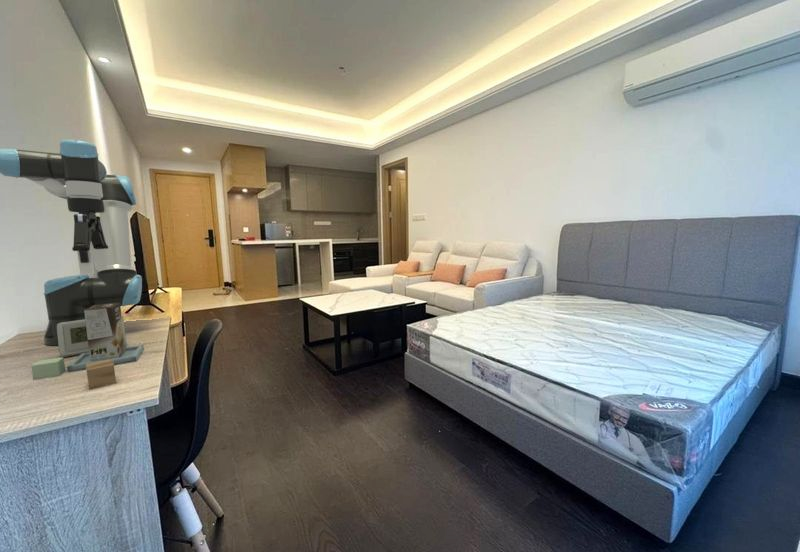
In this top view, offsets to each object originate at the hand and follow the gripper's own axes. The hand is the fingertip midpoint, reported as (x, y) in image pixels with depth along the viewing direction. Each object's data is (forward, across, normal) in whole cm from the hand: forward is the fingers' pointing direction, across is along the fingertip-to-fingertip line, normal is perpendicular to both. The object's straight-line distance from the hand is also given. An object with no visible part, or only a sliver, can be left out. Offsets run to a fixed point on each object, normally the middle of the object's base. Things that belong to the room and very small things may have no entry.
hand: (94, 272), depth 96 cm
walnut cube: (+27, +21, +4) cm, 34 cm away
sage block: (+27, +7, -10) cm, 29 cm away
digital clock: (+27, -12, -5) cm, 30 cm away
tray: (+27, +1, +1) cm, 27 cm away
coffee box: (+26, +1, +1) cm, 26 cm away
